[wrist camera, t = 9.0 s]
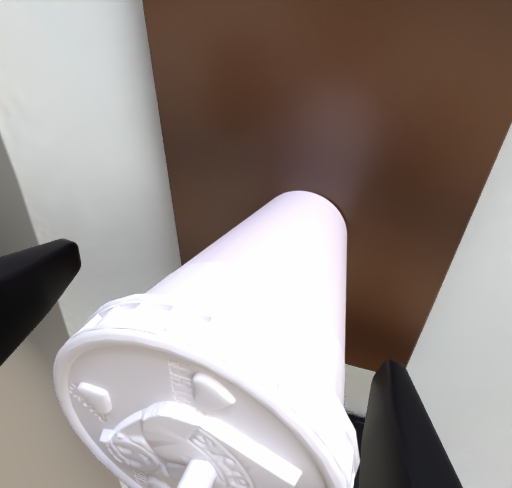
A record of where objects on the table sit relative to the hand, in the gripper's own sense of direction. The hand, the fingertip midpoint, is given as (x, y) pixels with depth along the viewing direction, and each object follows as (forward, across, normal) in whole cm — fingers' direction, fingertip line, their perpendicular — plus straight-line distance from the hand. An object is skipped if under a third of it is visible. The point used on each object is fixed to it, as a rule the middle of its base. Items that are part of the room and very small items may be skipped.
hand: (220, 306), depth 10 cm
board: (+8, -1, -1) cm, 8 cm away
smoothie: (+6, -1, +1) cm, 6 cm away
